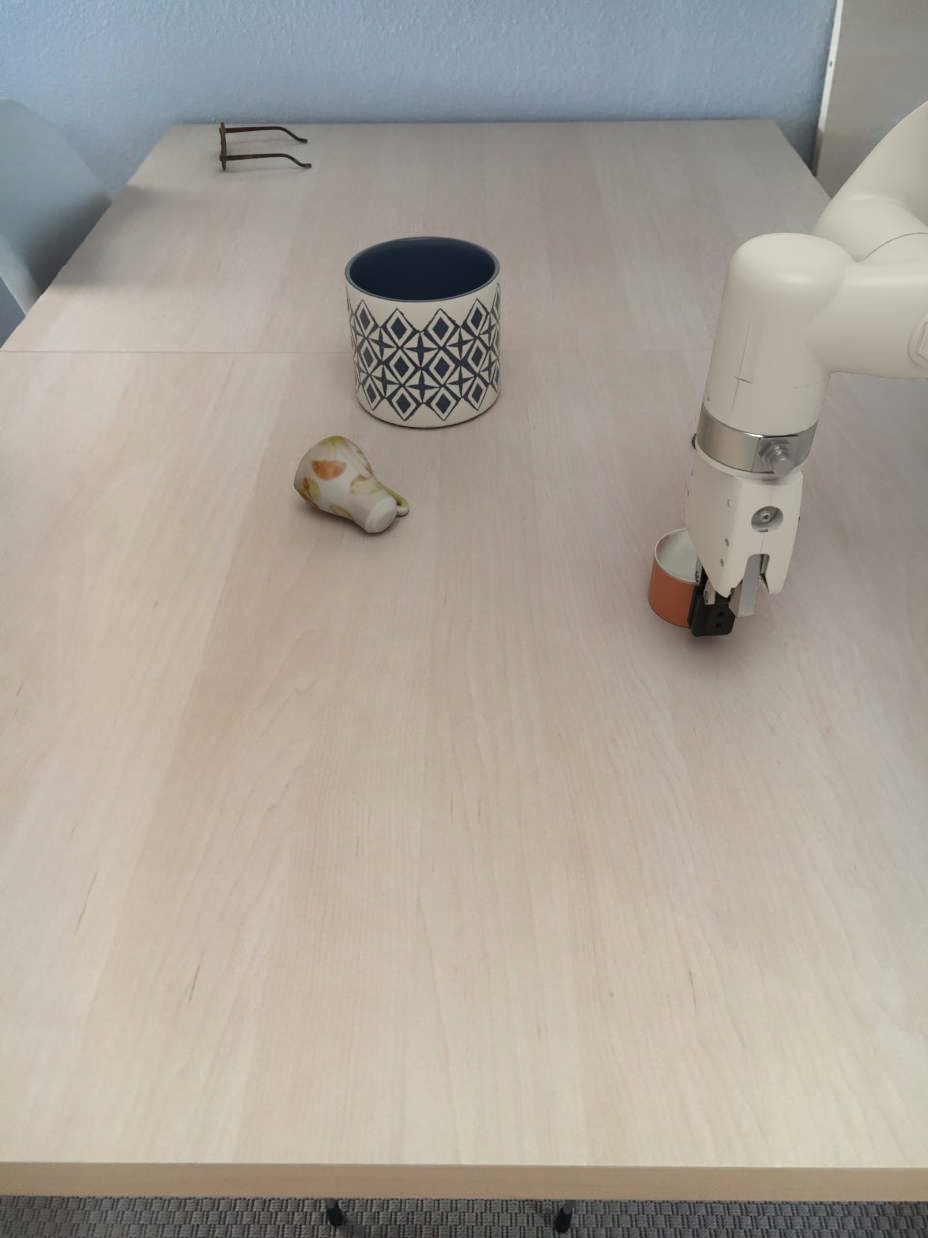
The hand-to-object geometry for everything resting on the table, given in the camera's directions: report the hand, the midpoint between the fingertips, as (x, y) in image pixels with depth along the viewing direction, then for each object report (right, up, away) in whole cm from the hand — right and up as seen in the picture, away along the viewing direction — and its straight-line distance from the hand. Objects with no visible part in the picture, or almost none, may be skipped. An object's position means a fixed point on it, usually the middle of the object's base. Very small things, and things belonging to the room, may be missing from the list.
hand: (708, 628), depth 79 cm
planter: (-23, +26, +32) cm, 47 cm away
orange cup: (0, +2, +6) cm, 6 cm away
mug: (-30, +11, +16) cm, 35 cm away
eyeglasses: (-53, +79, +89) cm, 130 cm away
